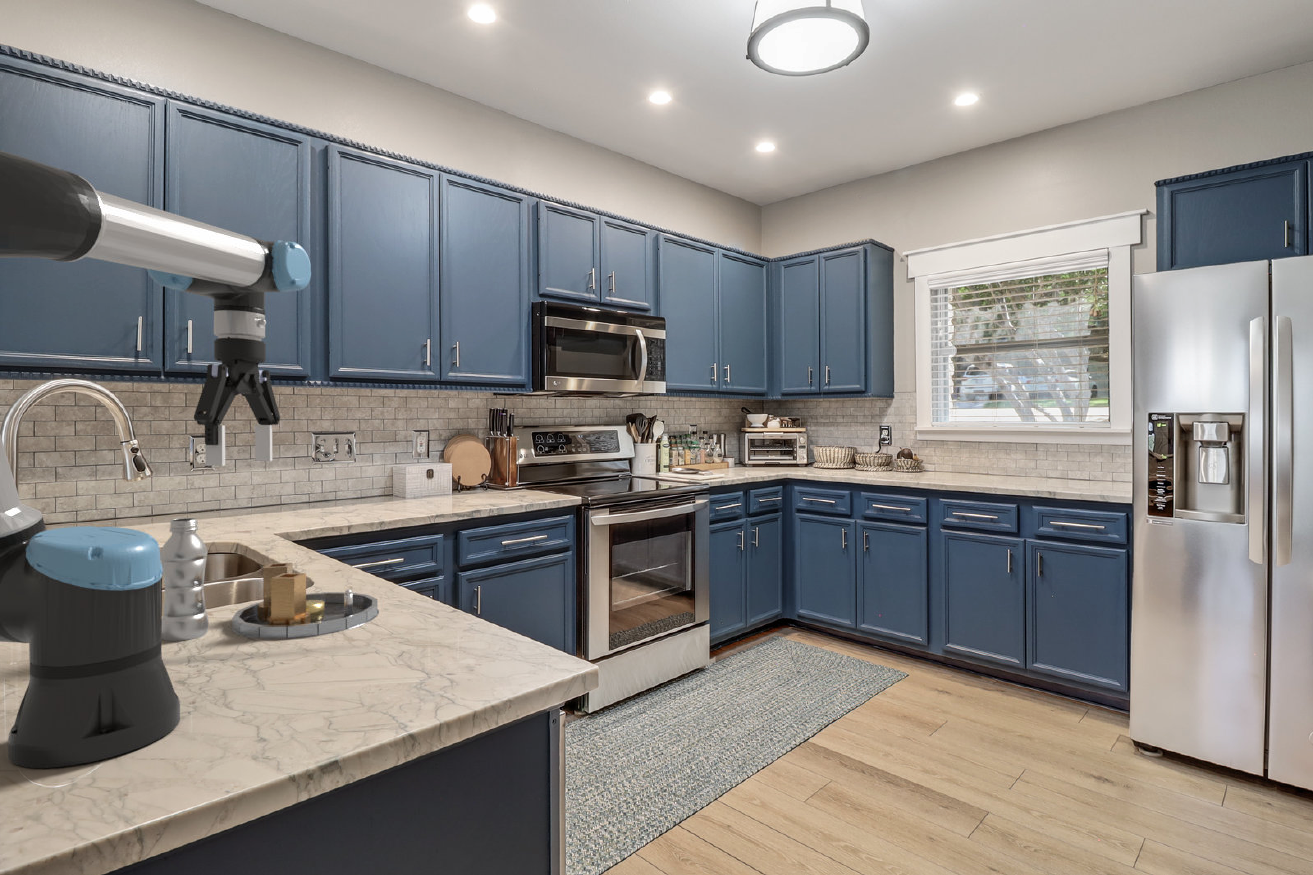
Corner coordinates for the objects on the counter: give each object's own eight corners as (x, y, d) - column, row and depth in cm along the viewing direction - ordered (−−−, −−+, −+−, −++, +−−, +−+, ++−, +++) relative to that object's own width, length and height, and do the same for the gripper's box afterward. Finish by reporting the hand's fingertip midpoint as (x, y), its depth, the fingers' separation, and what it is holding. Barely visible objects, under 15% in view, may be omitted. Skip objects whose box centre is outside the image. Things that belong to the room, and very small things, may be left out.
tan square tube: (293, 618, 121) (292, 568, 120) (253, 621, 119) (253, 569, 119) (301, 609, 126) (301, 561, 126) (264, 611, 125) (264, 562, 125)
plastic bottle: (169, 652, 106) (168, 523, 106) (154, 643, 111) (152, 519, 110) (215, 641, 112) (214, 519, 111) (199, 633, 116) (198, 515, 115)
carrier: (344, 646, 110) (343, 610, 109) (200, 645, 110) (200, 608, 109) (398, 607, 133) (398, 577, 132) (279, 606, 133) (279, 576, 132)
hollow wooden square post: (298, 635, 111) (297, 580, 111) (259, 635, 111) (259, 579, 111) (316, 624, 118) (316, 571, 117) (280, 623, 118) (280, 571, 117)
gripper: (215, 329, 104) (216, 468, 105) (300, 347, 129) (300, 459, 130) (165, 328, 104) (167, 467, 105) (260, 346, 129) (261, 459, 130)
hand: (241, 463), depth 117 cm, fingers open, 13 cm apart
